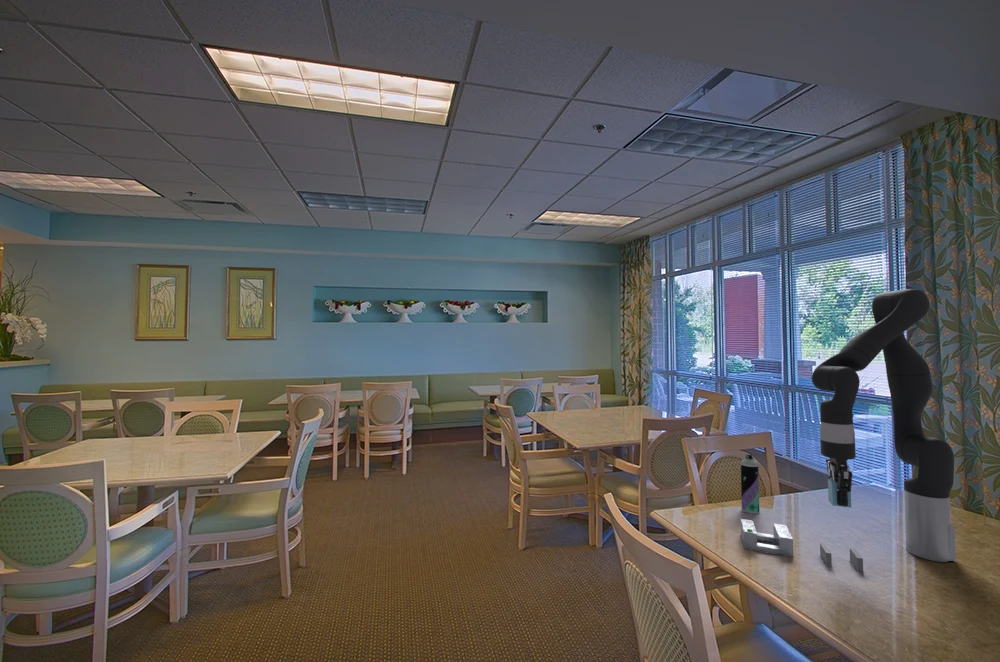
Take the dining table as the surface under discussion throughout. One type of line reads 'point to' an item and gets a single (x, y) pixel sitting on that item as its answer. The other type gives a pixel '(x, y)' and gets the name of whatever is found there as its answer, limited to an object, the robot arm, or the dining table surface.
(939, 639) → the dining table surface
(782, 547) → the block
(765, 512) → the dining table surface
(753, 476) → the spray can
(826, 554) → the gray parallel plates
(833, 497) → the plug
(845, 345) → the robot arm
